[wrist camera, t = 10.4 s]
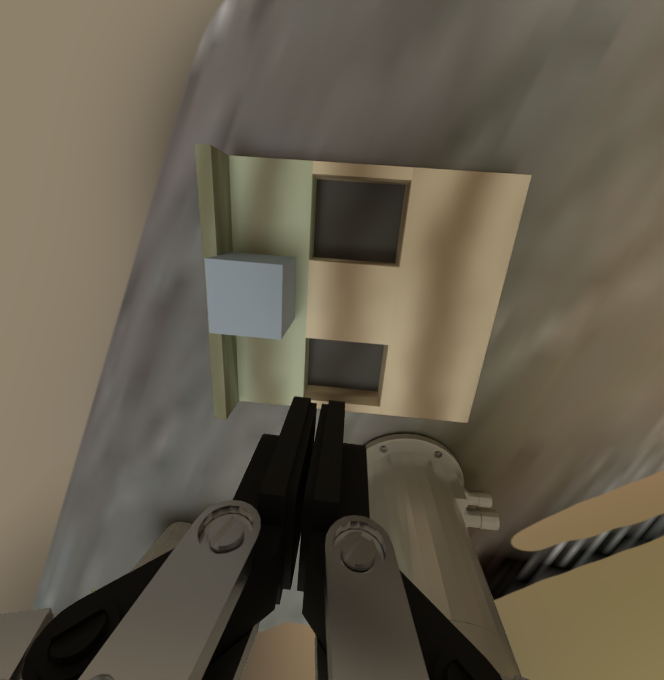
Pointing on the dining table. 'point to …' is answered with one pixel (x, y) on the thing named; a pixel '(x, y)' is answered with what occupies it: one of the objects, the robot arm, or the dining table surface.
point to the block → (250, 294)
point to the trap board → (363, 279)
